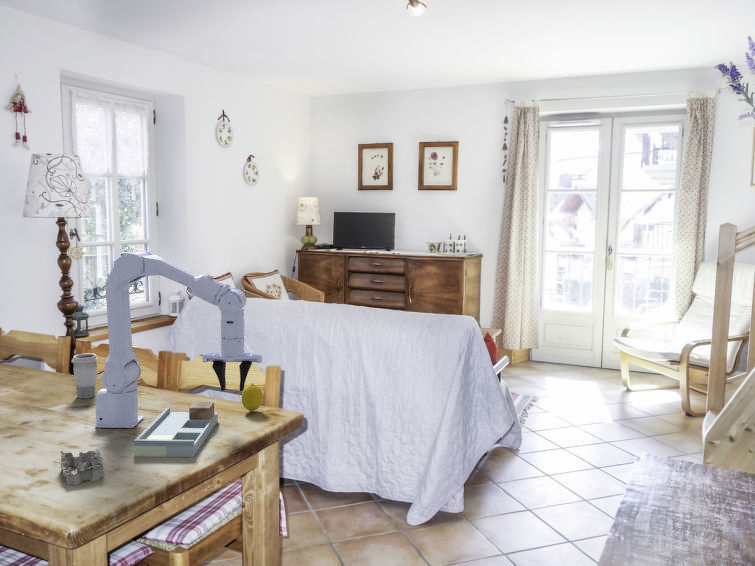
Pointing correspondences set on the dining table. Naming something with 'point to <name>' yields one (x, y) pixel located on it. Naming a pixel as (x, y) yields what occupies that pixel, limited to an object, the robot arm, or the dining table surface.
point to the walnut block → (201, 411)
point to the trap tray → (173, 435)
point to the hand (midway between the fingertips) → (232, 389)
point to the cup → (85, 374)
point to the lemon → (252, 397)
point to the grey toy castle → (82, 466)
